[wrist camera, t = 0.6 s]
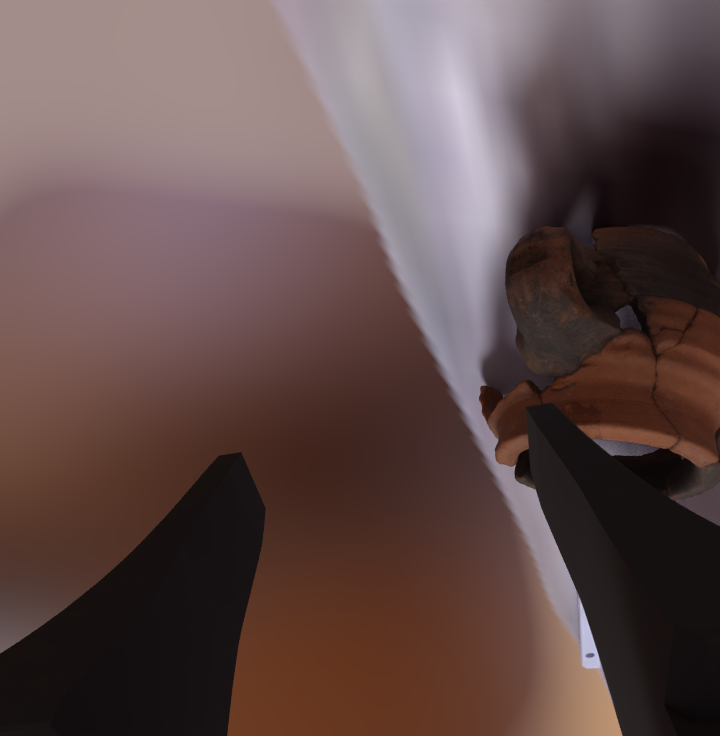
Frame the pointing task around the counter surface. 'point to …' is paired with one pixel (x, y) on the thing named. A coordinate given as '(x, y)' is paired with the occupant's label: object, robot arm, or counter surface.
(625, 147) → the counter surface
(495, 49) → the counter surface
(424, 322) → the counter surface
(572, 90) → the counter surface
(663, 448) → the pottery mug
